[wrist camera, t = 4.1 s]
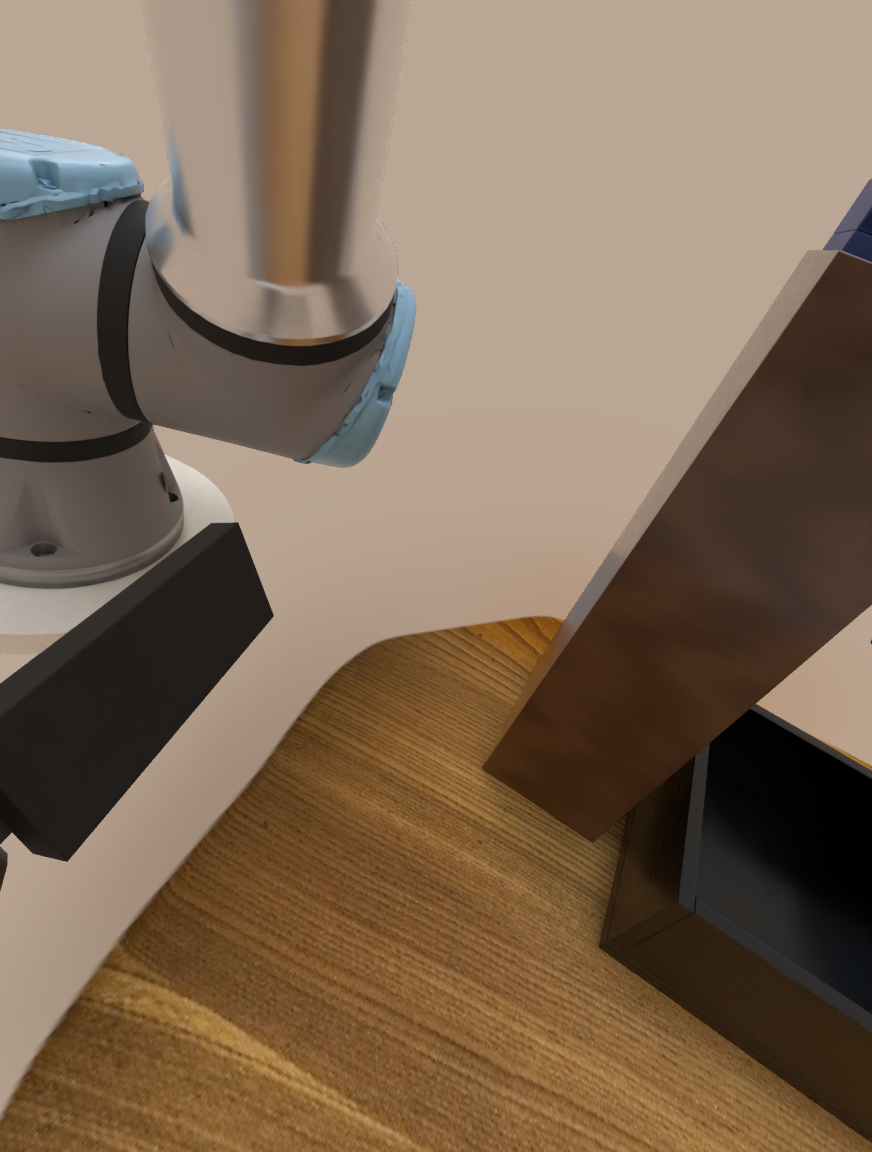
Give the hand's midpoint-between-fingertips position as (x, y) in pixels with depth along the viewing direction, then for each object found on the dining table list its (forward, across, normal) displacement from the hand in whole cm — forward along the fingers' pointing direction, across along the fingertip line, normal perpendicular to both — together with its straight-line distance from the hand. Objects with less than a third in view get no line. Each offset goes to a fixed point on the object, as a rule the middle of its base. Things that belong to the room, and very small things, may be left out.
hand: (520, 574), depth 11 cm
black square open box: (+11, +11, -31) cm, 34 cm away
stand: (+17, -1, -25) cm, 30 cm away
